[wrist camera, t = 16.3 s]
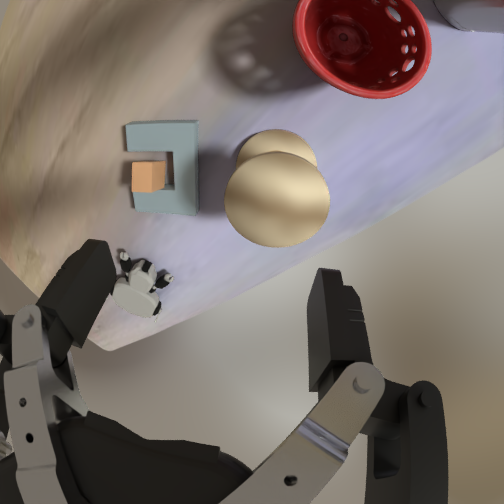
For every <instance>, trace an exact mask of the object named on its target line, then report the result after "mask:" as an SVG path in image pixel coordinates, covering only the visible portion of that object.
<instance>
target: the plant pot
mask: <svg viewBox="0 0 504 504" xmlns="http://www.w3.org/2000/svg"><path fill="white" fill-rule="evenodd" d="M377 1H378V2H380V3H377V2H375V1H374V0H299V1H298V4H297V6H296V9H295V12H294V15H293V25H292V26H293V37H294V41H295V44H296V47H297V49H298V52H299V54H300V56H301V58H302V59H303V61H304V62H305V63H306V65H307V66H308V67H309V68H310V69H311V70H312V71H313V72H314V73H315V74H316V75H317V76H319V77H320V78H321V79H322V80H324V81H325V82H327V83H328V84H330V85H331V86H333V87H335V88H337V89H339V90H342V91H344V92H346V93H349V94H352V95H355V96H359V97H363V98H371V99H385V98H391V97H395V96H398V95H400V94H403V93H405V92H407V91H408V90H410V89H411V88H413V87H414V86H415V85H416V84H417V83H418V82H419V81H420V80H421V79H422V77H423V76H424V74H425V73H426V71H427V69H428V66H429V63H430V59H431V38H430V33H429V30H428V27H427V24H426V22H425V20H424V18H423V16H422V14H421V13H420V11H419V10H418V8H417V7H416V6H415V4H414V3H413V2H412V1H411V0H394V1H395V2H396V3H397V4H396V3H394V2H393V1H392V0H377ZM387 6H390V7H392V8H393V9H394V10H396V11H397V12H398V14H399V15H400V17H401V22H399V21H397V20H396V19H395V18H394V17H393V16H392V15H391V14H390V12H389V11H388V8H387ZM411 26H412V27H413V28H414V30H415V36H414V34H413V32H412V29H411ZM404 30H405V31H406V32H407V37H406V36H405V33H404ZM406 46H408V52H407V53H405V48H406ZM416 47H417V51H416ZM412 60H415V62H414V65H413V67H412V68H411V69H410V70H408V71H406V72H405V70H406V68H407V66H408V64H409V63H410V62H411V61H412ZM395 72H397V73H396V74H395V75H393V74H394V73H395ZM392 75H393V76H392ZM380 82H381V83H380Z"/></svg>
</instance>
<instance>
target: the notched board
mask: <svg viewBox="0 0 504 504" xmlns="http://www.w3.org/2000/svg"><path fill="white" fill-rule="evenodd" d="M126 138H127V149H128V152H131V151H173V163H174V182H175V185H173V184H164V188H163V189H160V190H157V191H155V192H152V193H147V192H133V197H134V203H135V210H136V211H138V212H152V213H166V214H179V215H191V216H196V215H197V212H198V210H199V190H198V120H158V121H136V122H131V123H129V124H127V125H126Z"/></svg>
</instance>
